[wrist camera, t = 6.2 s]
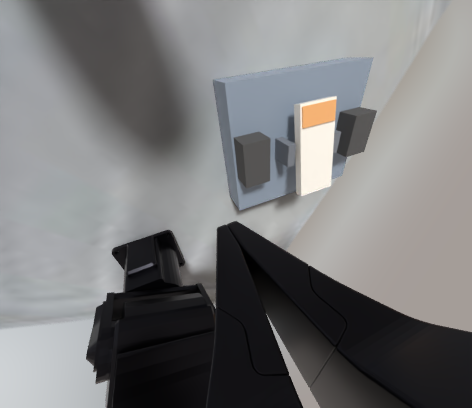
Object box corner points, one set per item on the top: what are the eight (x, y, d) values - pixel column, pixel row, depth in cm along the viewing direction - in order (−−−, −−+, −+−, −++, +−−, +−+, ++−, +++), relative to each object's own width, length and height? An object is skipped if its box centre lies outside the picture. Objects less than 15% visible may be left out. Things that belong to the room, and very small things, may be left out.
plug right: (348, 145, 22) (364, 151, 21) (331, 150, 22) (345, 157, 20) (358, 107, 20) (376, 110, 18) (339, 111, 19) (356, 115, 18)
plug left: (260, 171, 20) (270, 180, 18) (237, 178, 19) (246, 188, 18) (258, 131, 17) (270, 138, 16) (233, 137, 17) (242, 145, 15)
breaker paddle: (324, 183, 20) (331, 186, 20) (296, 193, 20) (302, 196, 19) (329, 96, 17) (338, 96, 16) (293, 104, 16) (301, 104, 15)
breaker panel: (325, 166, 27) (356, 183, 23) (230, 196, 24) (248, 222, 20) (346, 57, 20) (398, 57, 16) (212, 79, 16) (236, 86, 12)
